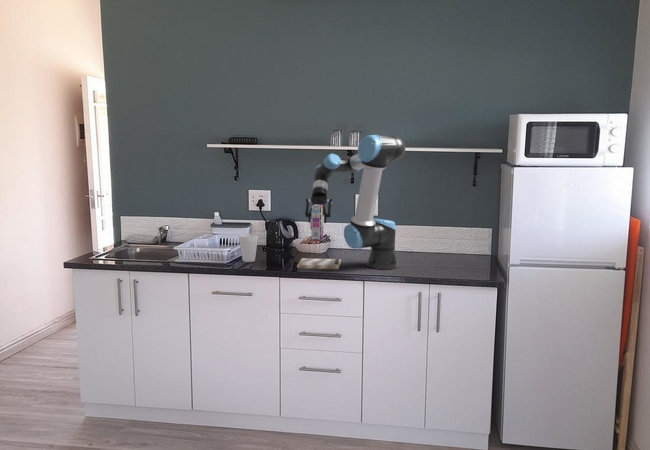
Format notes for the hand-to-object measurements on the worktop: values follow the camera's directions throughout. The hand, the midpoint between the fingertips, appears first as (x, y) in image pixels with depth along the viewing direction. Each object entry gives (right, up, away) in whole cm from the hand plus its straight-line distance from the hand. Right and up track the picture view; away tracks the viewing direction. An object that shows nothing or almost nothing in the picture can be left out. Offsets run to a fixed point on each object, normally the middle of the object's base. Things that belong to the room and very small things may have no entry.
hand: (316, 227), depth 263 cm
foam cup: (-35, -17, +15) cm, 42 cm away
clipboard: (+1, -18, +6) cm, 20 cm away
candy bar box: (0, -6, +5) cm, 7 cm away
